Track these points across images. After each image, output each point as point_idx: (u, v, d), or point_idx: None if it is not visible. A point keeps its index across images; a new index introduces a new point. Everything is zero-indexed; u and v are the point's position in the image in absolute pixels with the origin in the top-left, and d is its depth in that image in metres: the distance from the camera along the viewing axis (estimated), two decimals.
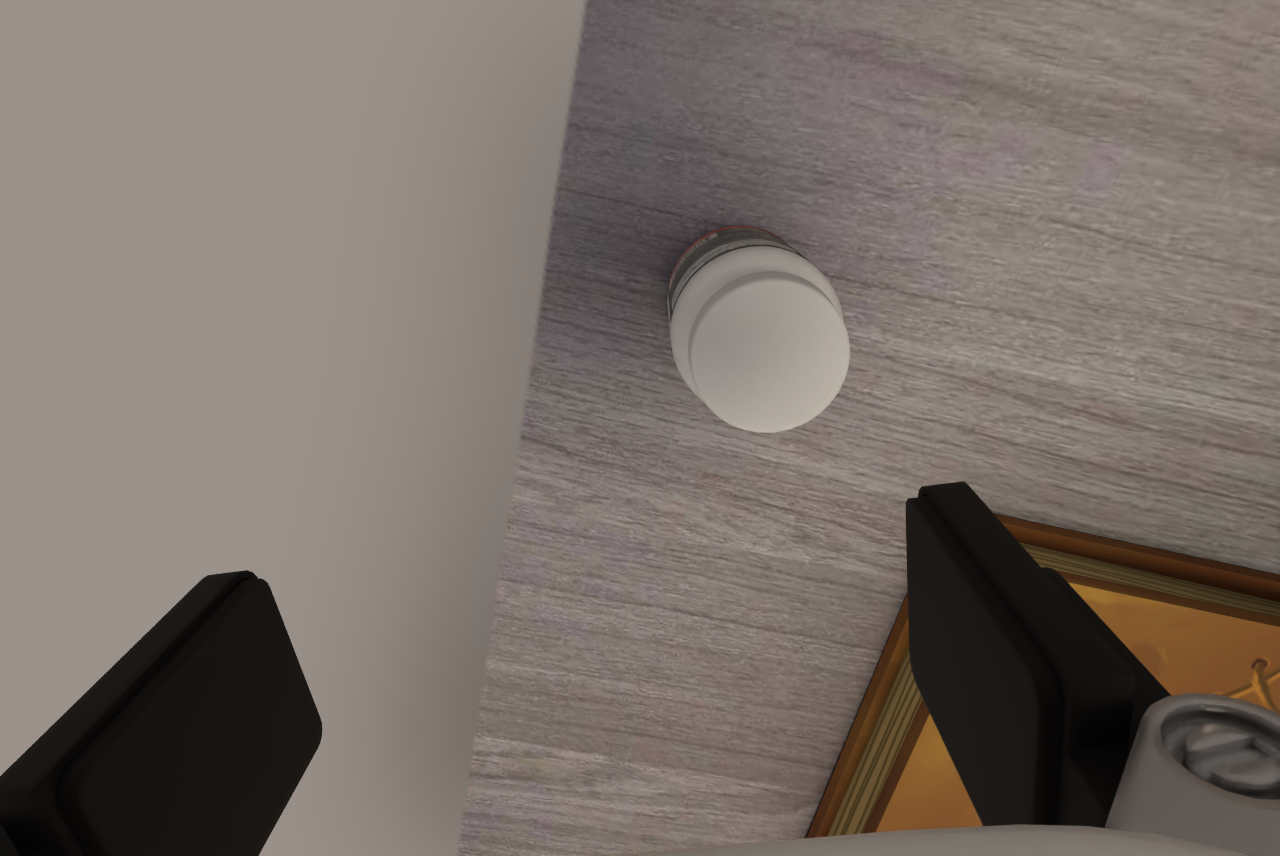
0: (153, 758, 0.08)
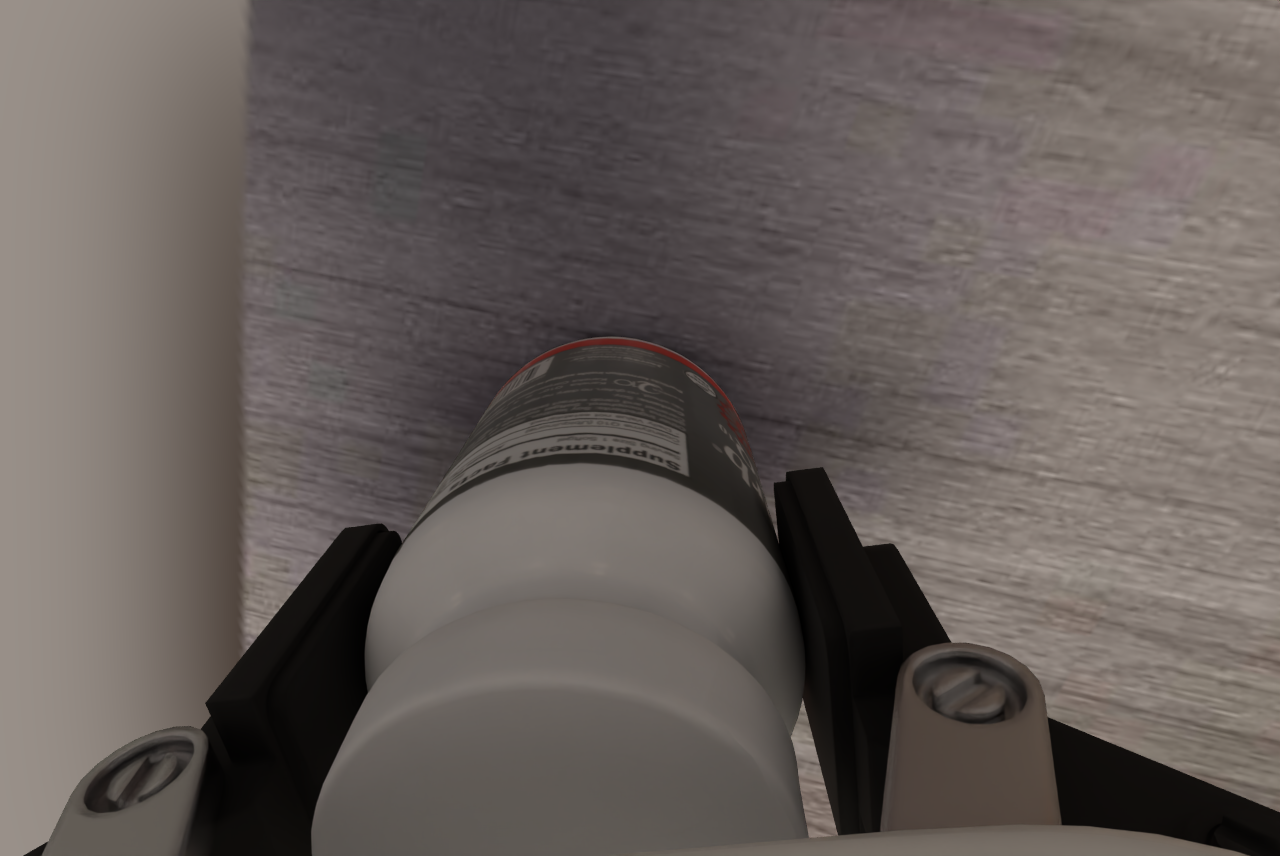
0: (332, 682, 0.09)
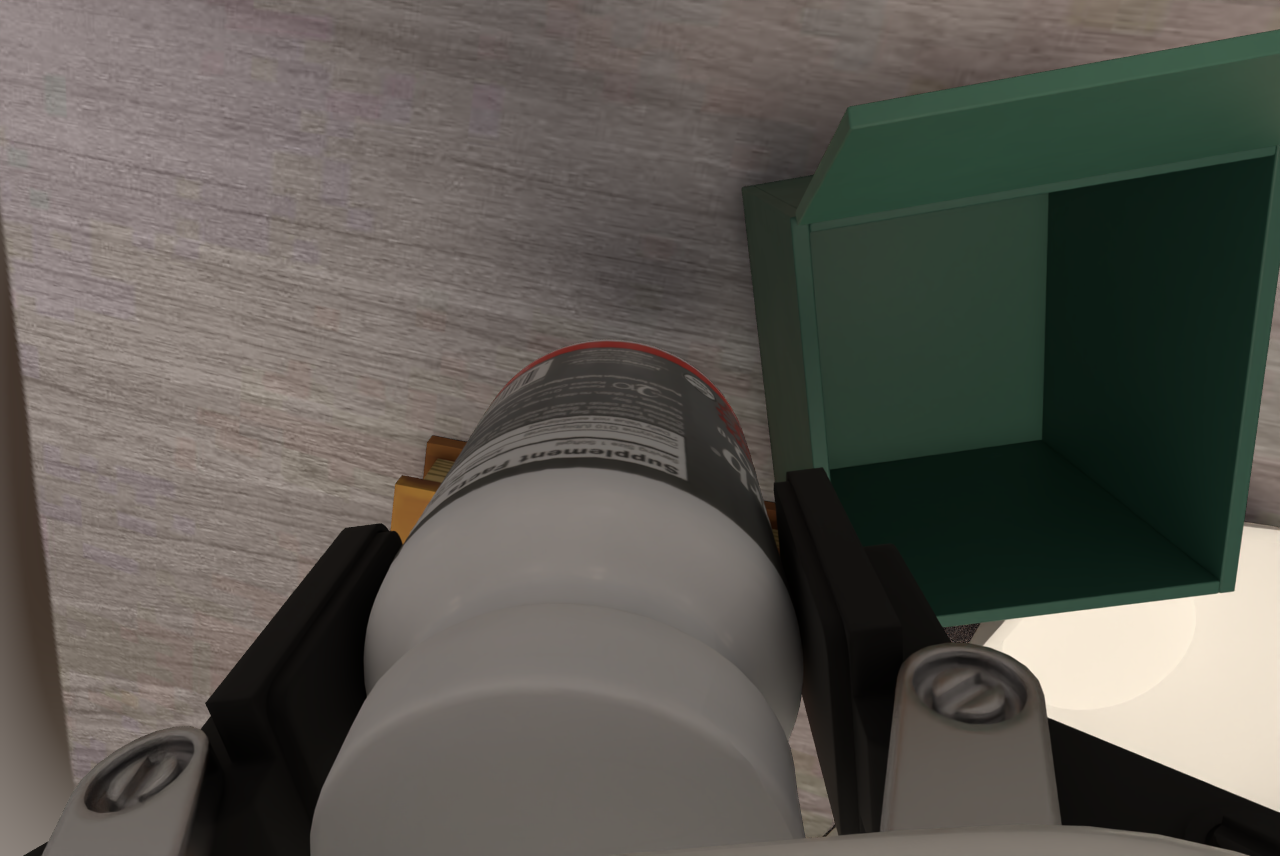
0: (332, 682, 0.09)
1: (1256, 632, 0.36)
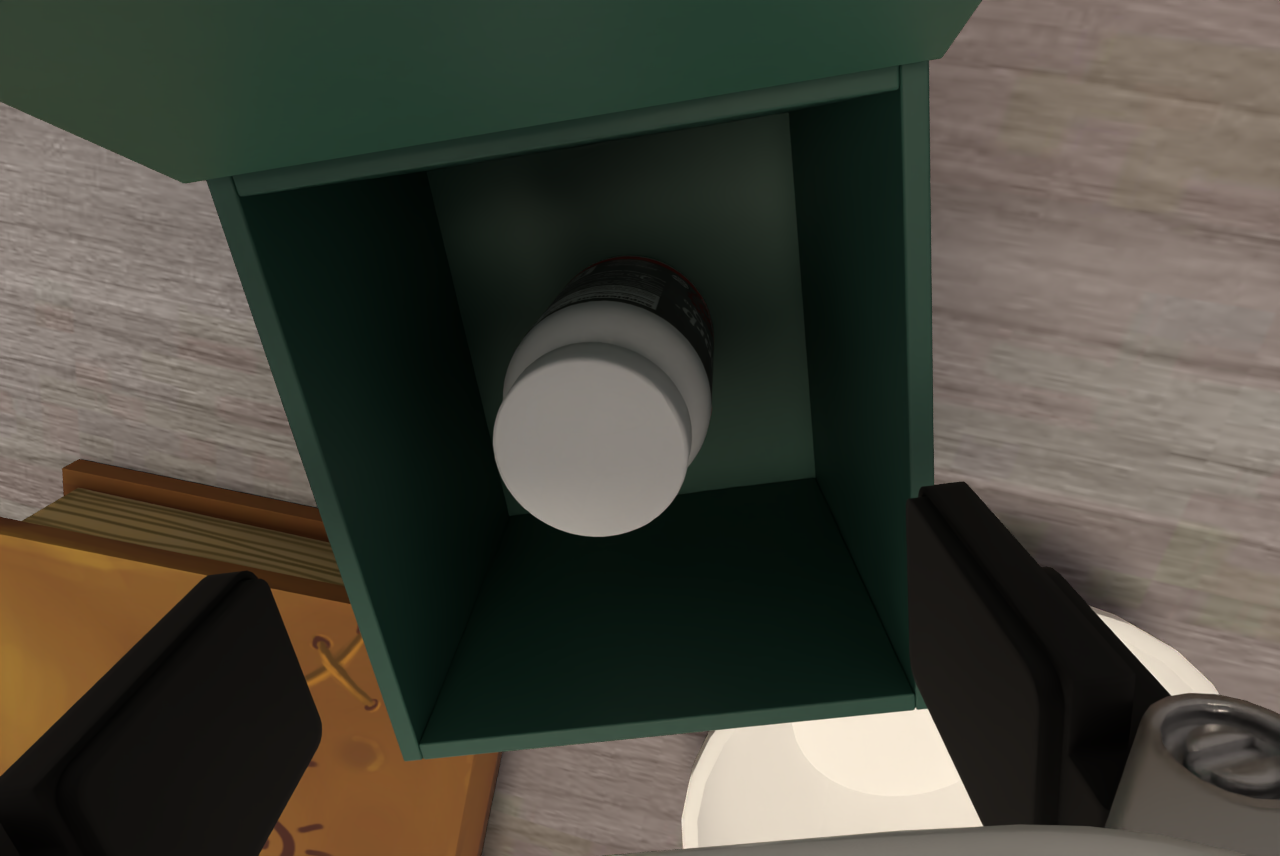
0: (153, 758, 0.08)
1: None
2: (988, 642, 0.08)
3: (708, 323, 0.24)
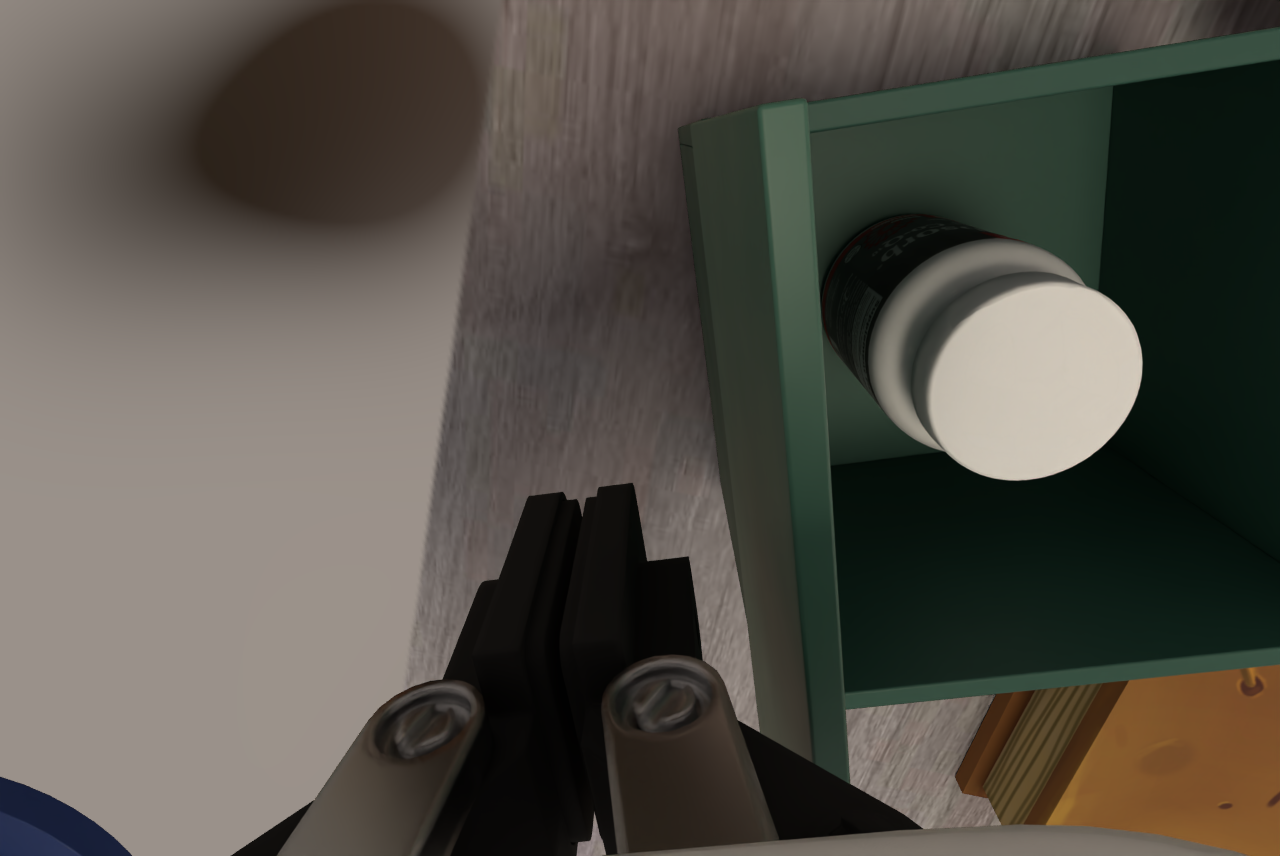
0: None
1: None
2: None
3: (899, 225, 0.23)
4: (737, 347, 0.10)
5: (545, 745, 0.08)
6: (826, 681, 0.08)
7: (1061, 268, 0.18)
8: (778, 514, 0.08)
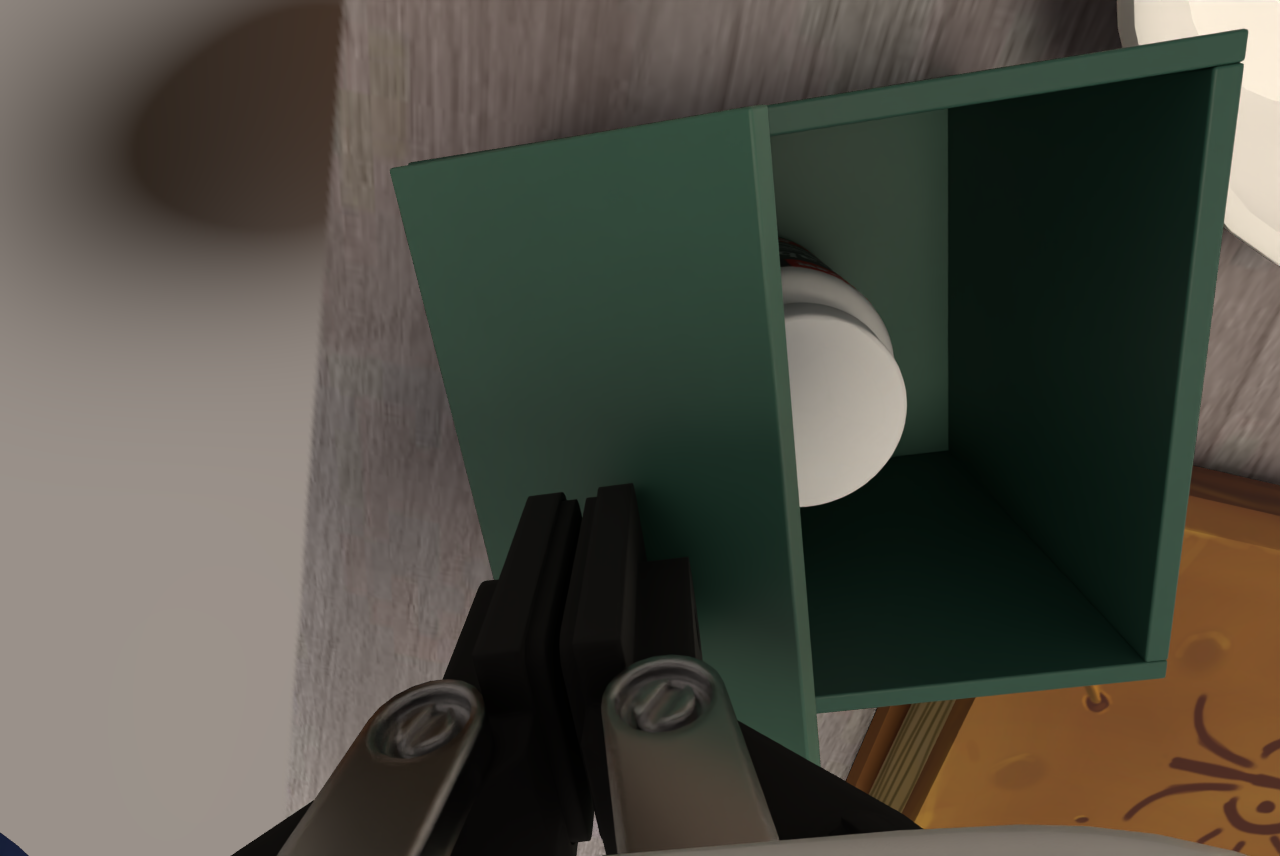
0: None
1: None
2: None
3: None
4: (581, 342, 0.11)
5: (545, 745, 0.08)
6: (797, 544, 0.10)
7: (847, 297, 0.18)
8: (722, 439, 0.10)
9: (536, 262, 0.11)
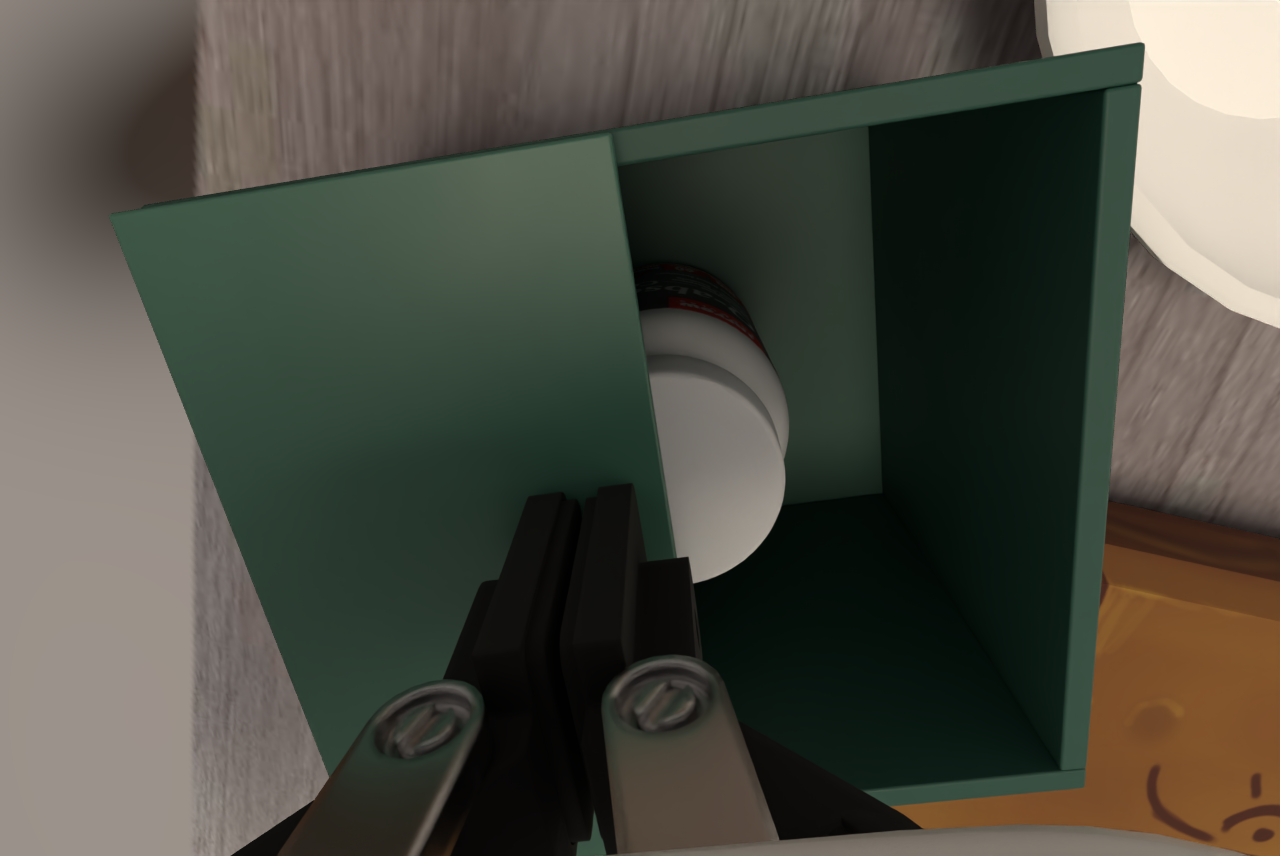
0: None
1: None
2: None
3: None
4: (426, 372, 0.11)
5: (545, 745, 0.08)
6: None
7: (728, 344, 0.16)
8: (597, 429, 0.11)
9: (361, 297, 0.10)
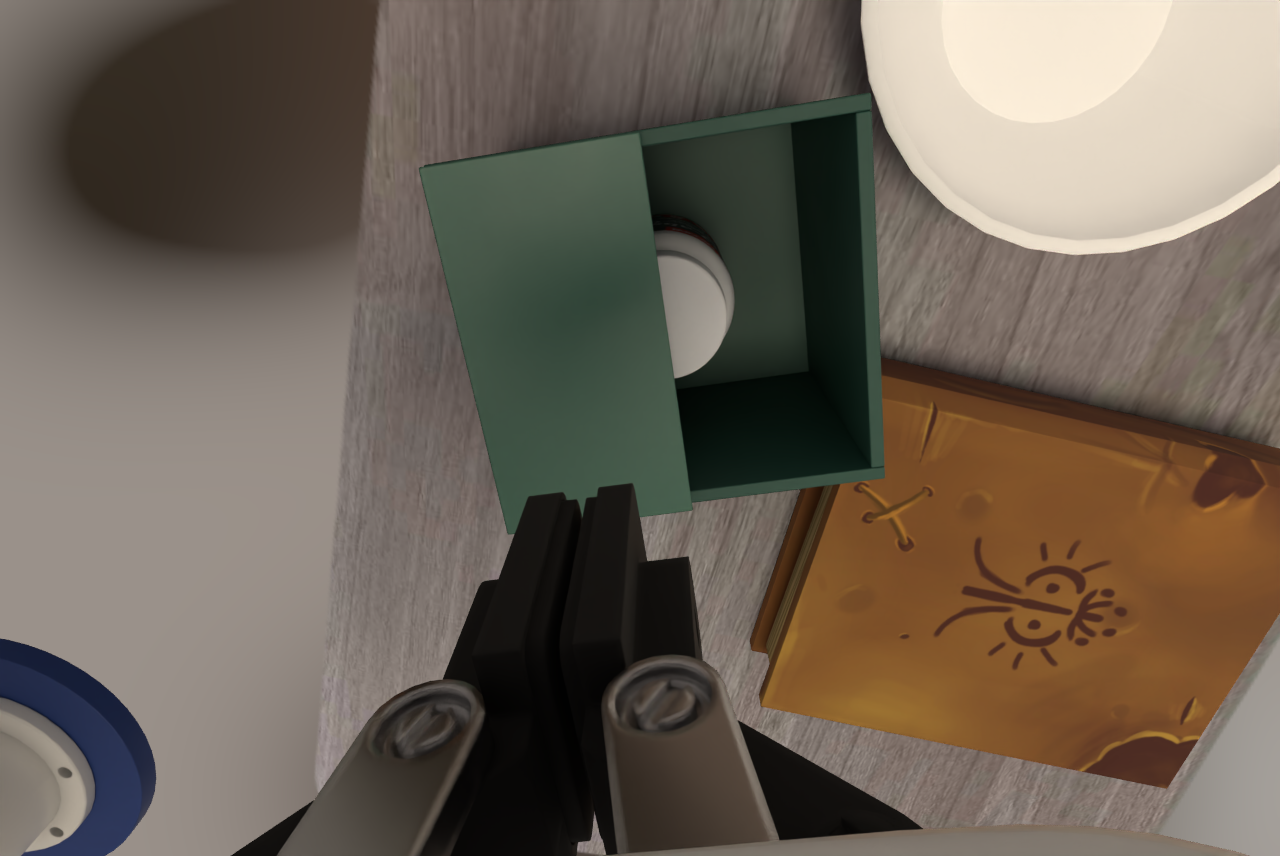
0: None
1: None
2: None
3: None
4: (553, 241, 0.24)
5: (545, 745, 0.08)
6: None
7: (698, 248, 0.29)
8: (631, 269, 0.24)
9: (527, 205, 0.23)
